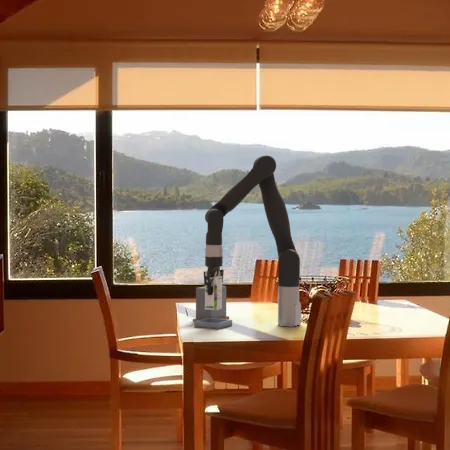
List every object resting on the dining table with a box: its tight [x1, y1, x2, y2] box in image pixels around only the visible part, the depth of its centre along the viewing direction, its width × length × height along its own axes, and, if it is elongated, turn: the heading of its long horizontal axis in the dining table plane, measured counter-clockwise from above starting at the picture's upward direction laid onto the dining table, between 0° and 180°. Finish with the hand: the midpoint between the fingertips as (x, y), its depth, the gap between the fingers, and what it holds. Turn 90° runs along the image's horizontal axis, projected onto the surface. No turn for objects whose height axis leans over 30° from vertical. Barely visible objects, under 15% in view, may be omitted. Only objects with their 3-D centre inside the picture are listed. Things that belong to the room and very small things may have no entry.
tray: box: [193, 318, 233, 330], centre depth 357 cm, size 12×12×2 cm
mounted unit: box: [192, 285, 230, 322], centre depth 376 cm, size 10×16×15 cm, turn 152°
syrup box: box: [204, 276, 223, 310], centre depth 357 cm, size 6×6×14 cm
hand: (213, 294), depth 357 cm, fingers closed on syrup box, 6 cm apart
